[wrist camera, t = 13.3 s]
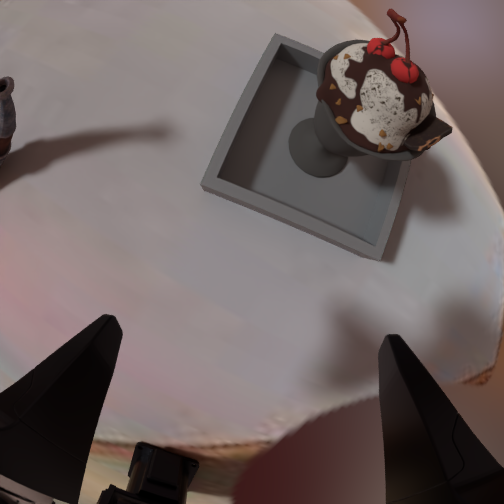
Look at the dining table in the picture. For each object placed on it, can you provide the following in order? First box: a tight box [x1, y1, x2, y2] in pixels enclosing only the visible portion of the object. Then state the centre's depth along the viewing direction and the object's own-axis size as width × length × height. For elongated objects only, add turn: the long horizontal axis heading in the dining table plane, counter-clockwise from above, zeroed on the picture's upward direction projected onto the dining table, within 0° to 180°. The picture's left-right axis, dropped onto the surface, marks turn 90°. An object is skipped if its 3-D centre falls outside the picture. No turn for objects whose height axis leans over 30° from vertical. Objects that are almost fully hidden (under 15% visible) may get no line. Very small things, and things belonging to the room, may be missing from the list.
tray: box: [200, 33, 411, 261], centre depth 20 cm, size 14×14×3 cm
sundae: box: [288, 9, 452, 178], centre depth 14 cm, size 7×7×15 cm
